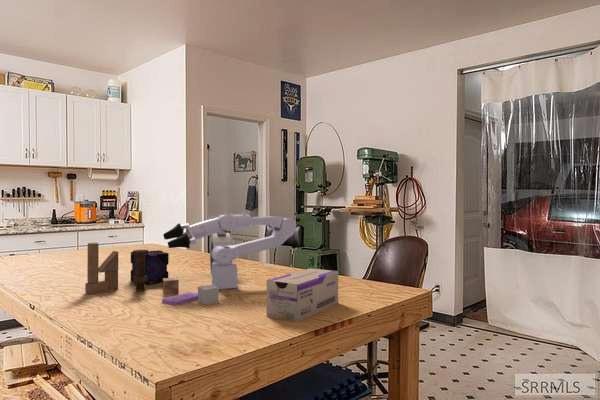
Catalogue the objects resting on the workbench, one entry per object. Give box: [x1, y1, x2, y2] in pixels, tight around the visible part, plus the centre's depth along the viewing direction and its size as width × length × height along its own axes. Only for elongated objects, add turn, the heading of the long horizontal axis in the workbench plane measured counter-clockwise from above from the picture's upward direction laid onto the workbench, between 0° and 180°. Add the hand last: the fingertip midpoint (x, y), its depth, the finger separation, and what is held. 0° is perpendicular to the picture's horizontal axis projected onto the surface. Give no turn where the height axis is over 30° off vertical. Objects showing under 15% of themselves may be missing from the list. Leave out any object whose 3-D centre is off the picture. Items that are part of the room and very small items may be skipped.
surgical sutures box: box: [266, 267, 339, 323], centre depth 129 cm, size 25×11×11 cm, turn 148°
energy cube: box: [130, 249, 170, 286], centre depth 171 cm, size 12×12×12 cm
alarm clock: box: [209, 230, 233, 276], centre depth 185 cm, size 21×8×20 cm, turn 17°
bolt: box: [131, 249, 150, 292], centre depth 153 cm, size 6×5×15 cm
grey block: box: [197, 284, 220, 306], centre depth 137 cm, size 5×5×5 cm
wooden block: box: [84, 242, 119, 295], centre depth 153 cm, size 4×11×18 cm, turn 145°
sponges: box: [161, 291, 198, 306], centre depth 140 cm, size 7×13×2 cm, turn 149°
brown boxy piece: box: [162, 277, 180, 296], centre depth 151 cm, size 5×5×5 cm
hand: (166, 241), depth 152 cm, fingers open, 7 cm apart
